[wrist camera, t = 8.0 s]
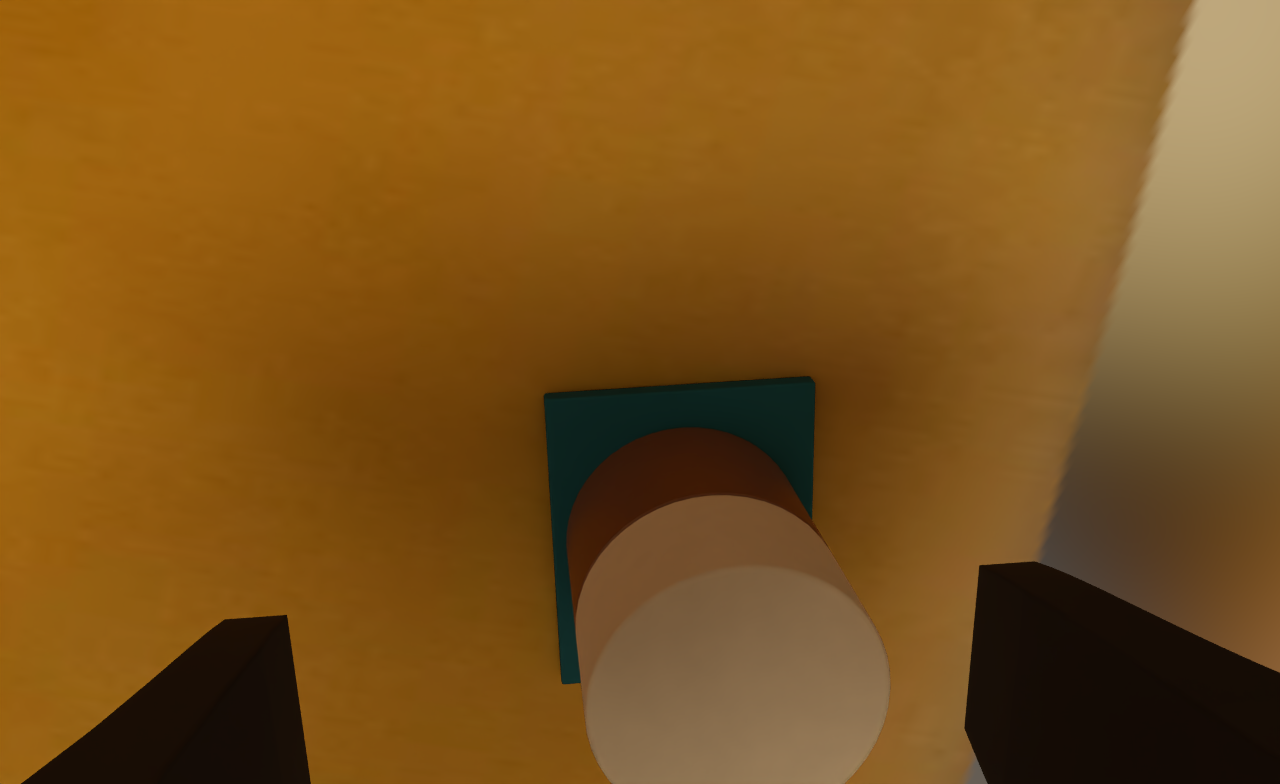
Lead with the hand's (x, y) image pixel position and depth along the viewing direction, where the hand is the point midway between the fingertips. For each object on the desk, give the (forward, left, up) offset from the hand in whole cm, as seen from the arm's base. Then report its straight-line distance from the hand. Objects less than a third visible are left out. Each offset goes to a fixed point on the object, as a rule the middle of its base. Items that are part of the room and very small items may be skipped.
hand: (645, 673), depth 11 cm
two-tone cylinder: (-3, -2, -9) cm, 10 cm away
